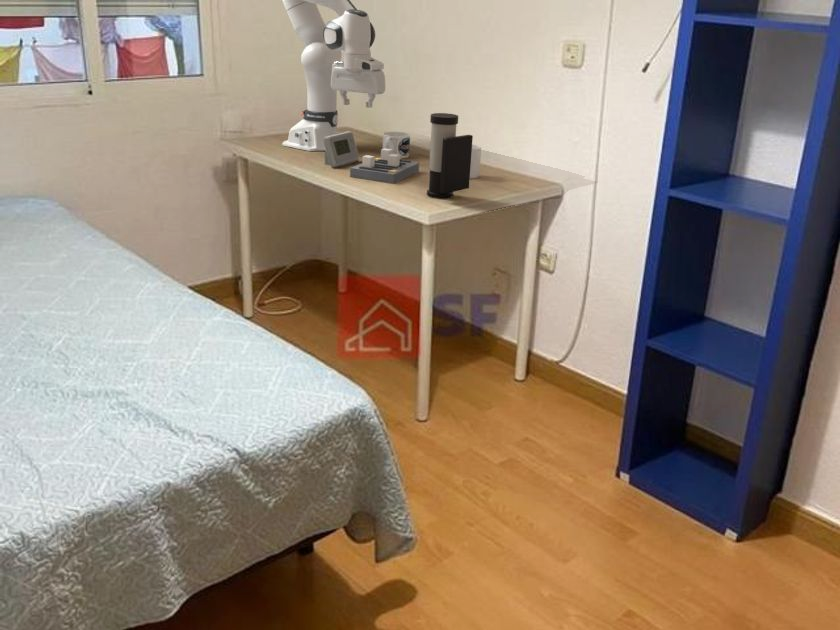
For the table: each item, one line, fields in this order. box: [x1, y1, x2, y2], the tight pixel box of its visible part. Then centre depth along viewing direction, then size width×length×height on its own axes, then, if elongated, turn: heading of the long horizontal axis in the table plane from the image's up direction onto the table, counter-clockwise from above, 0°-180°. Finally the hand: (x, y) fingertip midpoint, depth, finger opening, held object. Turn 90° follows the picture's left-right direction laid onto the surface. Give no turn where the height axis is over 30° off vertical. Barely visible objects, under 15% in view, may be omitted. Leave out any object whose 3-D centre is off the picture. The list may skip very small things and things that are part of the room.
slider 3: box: [388, 154, 401, 166], centre depth 276 cm, size 3×3×4 cm
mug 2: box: [470, 144, 482, 180], centre depth 281 cm, size 12×8×10 cm
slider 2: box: [380, 148, 393, 160], centre depth 284 cm, size 3×3×4 cm
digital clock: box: [323, 130, 360, 169], centre depth 289 cm, size 16×9×11 cm, turn 138°
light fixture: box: [426, 112, 474, 199], centre depth 250 cm, size 12×11×25 cm
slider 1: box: [361, 154, 376, 168], centre depth 272 cm, size 3×3×4 cm
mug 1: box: [382, 131, 411, 159], centre depth 305 cm, size 13×10×8 cm
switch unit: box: [349, 156, 420, 184], centre depth 278 cm, size 16×21×4 cm
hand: (357, 106), depth 271 cm, fingers open, 8 cm apart
